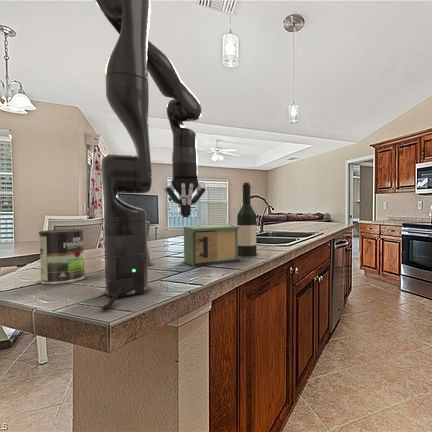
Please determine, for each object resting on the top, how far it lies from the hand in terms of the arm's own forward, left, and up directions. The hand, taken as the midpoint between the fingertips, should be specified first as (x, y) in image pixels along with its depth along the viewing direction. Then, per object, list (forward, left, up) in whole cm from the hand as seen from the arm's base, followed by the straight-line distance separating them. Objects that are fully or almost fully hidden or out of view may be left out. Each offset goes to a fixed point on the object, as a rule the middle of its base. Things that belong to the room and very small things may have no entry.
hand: (185, 217), depth 103 cm
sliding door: (+2, -9, -16) cm, 19 cm away
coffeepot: (+20, +12, -17) cm, 29 cm away
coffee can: (+8, +33, -17) cm, 38 cm away
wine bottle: (+17, -30, -17) cm, 39 cm away
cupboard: (+11, -12, -17) cm, 24 cm away
